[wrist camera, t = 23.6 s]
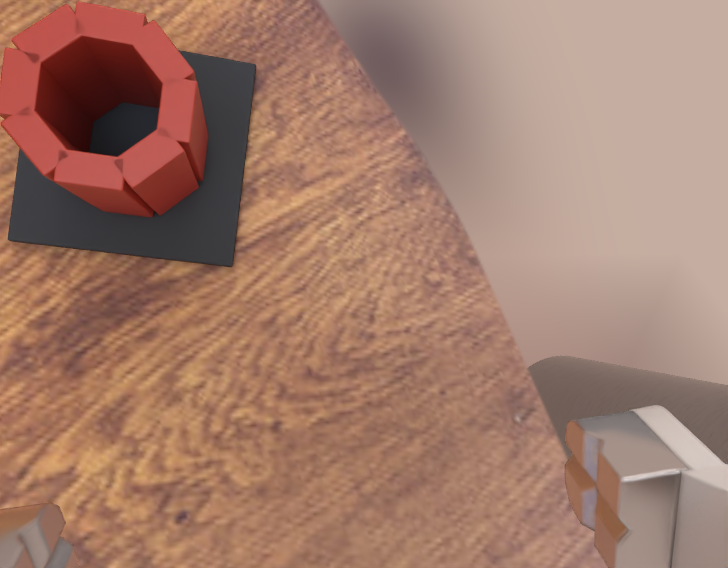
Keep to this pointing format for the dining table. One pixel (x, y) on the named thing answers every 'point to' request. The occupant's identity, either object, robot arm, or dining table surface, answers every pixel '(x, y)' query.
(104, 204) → the ring sleeve
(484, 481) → the dining table surface
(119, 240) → the mat
